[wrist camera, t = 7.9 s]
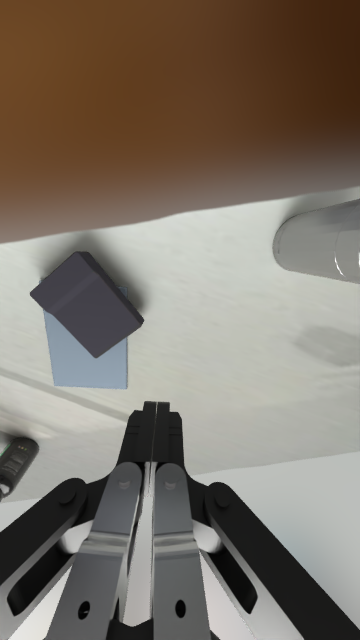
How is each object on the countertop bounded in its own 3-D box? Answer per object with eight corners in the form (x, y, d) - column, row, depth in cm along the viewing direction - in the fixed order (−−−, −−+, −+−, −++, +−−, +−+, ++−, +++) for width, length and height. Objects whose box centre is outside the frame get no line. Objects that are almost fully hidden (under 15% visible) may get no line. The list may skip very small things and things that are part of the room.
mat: (126, 287, 36) (126, 288, 36) (127, 387, 44) (126, 389, 43) (41, 280, 35) (38, 281, 35) (56, 384, 43) (54, 385, 42)
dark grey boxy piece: (146, 319, 37) (89, 250, 34) (141, 327, 33) (76, 250, 29) (103, 350, 39) (45, 289, 36) (94, 361, 35) (27, 293, 32)
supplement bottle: (5, 438, 47) (-48, 498, 36) (33, 435, 47) (-11, 493, 36) (16, 458, 50) (-30, 520, 38) (43, 455, 50) (5, 516, 38)
